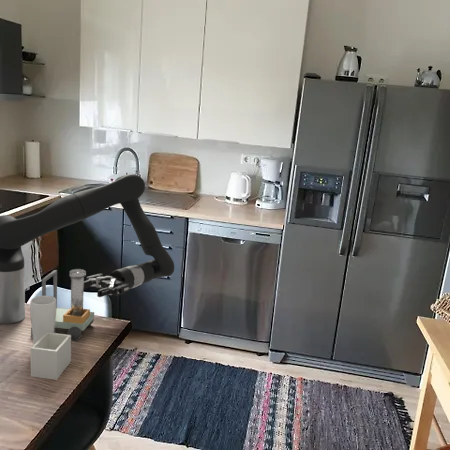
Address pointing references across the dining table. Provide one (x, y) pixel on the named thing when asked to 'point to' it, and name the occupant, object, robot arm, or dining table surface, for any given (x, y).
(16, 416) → the dining table surface
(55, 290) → the trolley
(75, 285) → the steel pin
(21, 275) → the robot arm
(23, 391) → the dining table surface
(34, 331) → the drinking glass
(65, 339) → the bin
